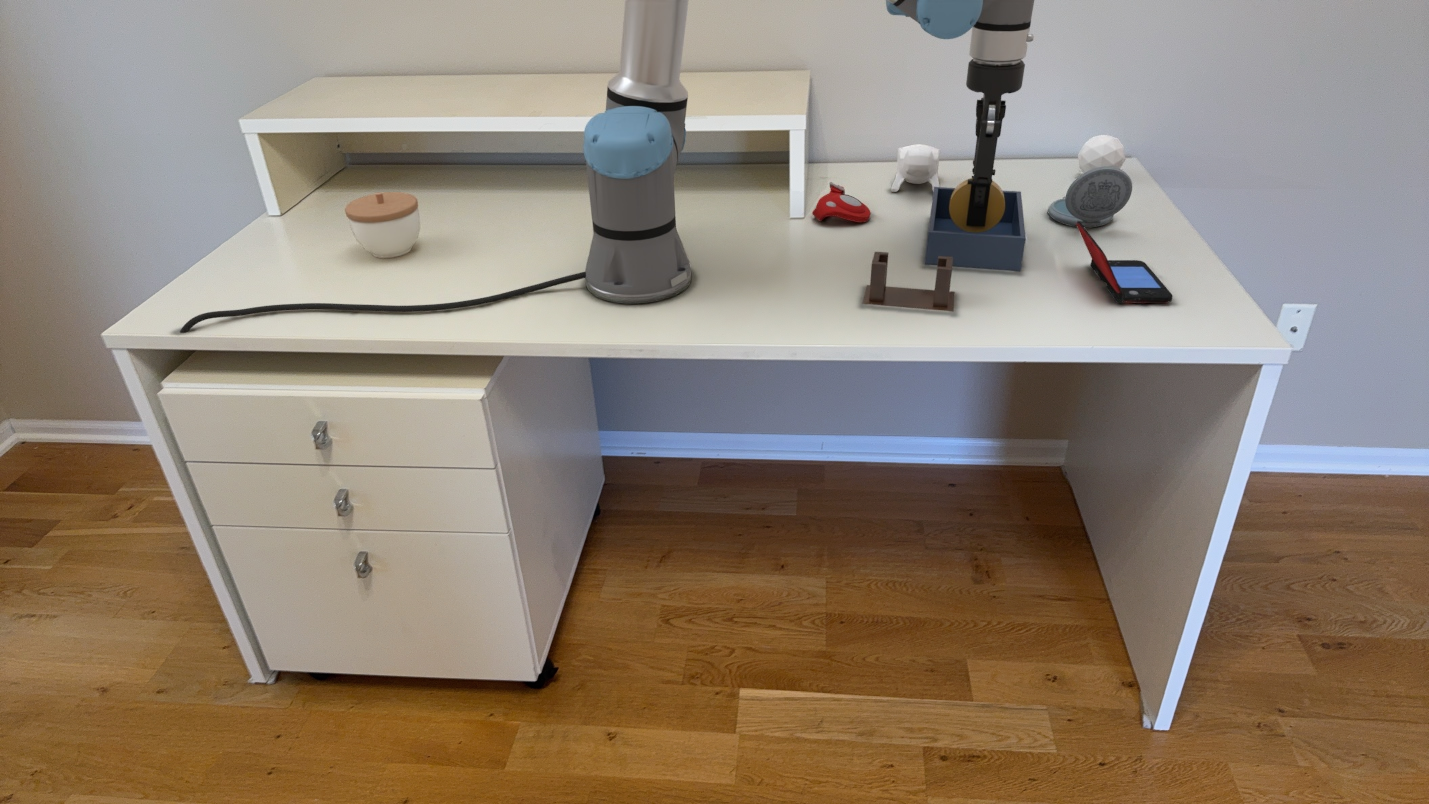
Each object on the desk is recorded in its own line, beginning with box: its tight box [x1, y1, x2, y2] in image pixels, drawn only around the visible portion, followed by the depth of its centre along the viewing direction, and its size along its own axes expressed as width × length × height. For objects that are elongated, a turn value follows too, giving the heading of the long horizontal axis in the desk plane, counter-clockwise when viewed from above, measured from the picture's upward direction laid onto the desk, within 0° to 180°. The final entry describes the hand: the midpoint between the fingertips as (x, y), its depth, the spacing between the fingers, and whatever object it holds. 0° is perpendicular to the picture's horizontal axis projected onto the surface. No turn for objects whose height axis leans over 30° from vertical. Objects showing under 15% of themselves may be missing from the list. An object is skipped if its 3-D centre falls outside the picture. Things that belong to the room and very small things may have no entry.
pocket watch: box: [1047, 167, 1133, 228], centre depth 144 cm, size 10×11×15 cm
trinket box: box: [344, 191, 421, 259], centre depth 141 cm, size 11×11×9 cm
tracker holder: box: [811, 181, 872, 223], centre depth 151 cm, size 12×4×10 cm
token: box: [949, 177, 1005, 233], centre depth 136 cm, size 2×8×8 cm, turn 76°
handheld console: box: [1077, 221, 1174, 304], centre depth 124 cm, size 12×11×7 cm
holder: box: [861, 251, 955, 312], centre depth 122 cm, size 12×6×6 cm, turn 76°
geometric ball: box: [1077, 133, 1126, 174], centre depth 161 cm, size 8×8×8 cm
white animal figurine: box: [890, 143, 942, 193], centre depth 159 cm, size 8×8×15 cm
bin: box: [924, 186, 1026, 272], centre depth 138 cm, size 19×13×6 cm
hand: (975, 221), depth 137 cm, fingers closed on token, 2 cm apart
